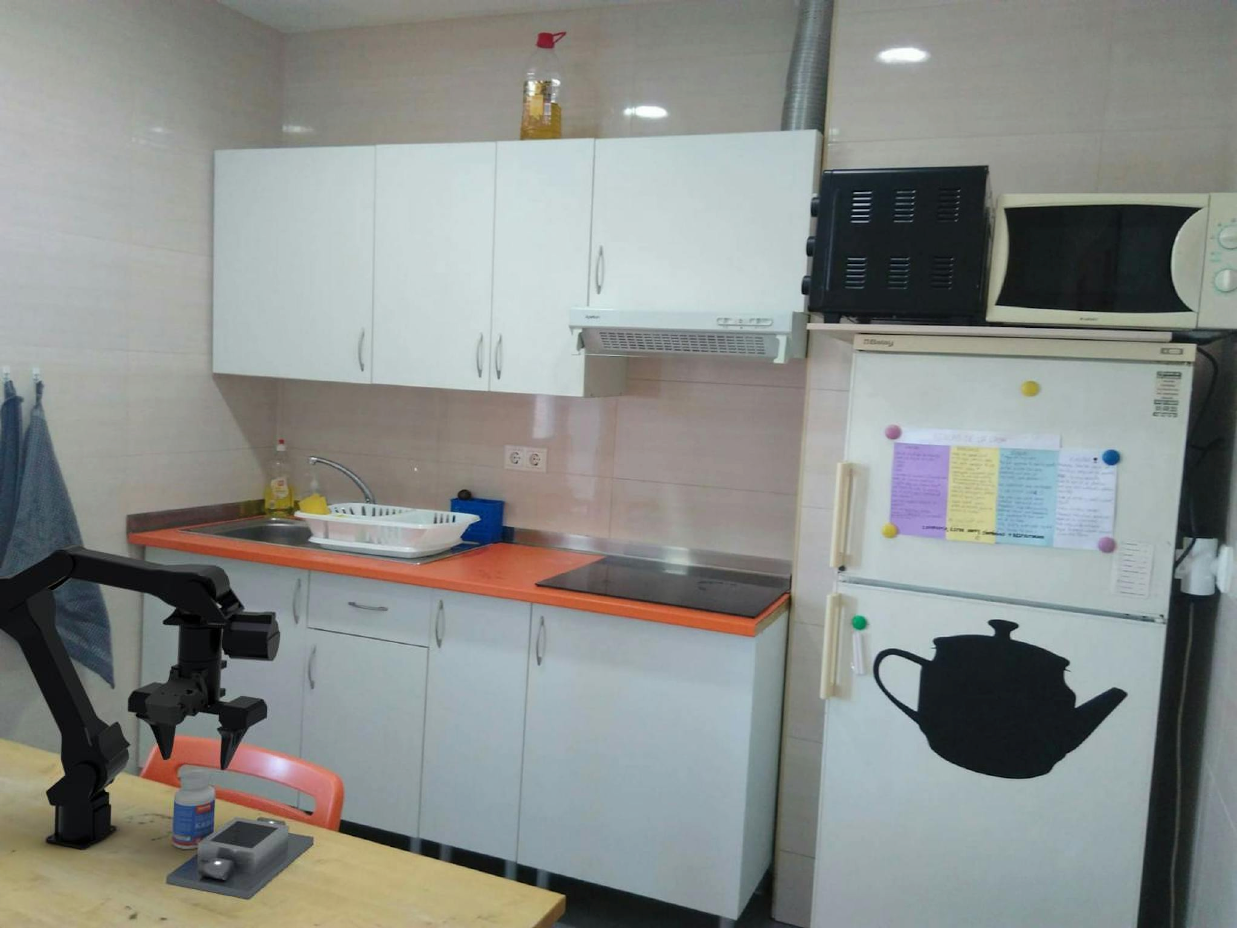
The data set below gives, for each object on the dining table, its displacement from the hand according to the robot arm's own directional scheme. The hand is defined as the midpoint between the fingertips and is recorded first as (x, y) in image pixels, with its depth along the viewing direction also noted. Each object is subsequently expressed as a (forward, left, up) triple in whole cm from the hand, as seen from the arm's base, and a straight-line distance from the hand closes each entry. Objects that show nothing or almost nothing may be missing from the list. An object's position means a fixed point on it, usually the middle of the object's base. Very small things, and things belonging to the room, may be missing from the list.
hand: (195, 764), depth 137 cm
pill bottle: (0, 0, -12) cm, 12 cm away
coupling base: (+10, -3, -11) cm, 15 cm away
